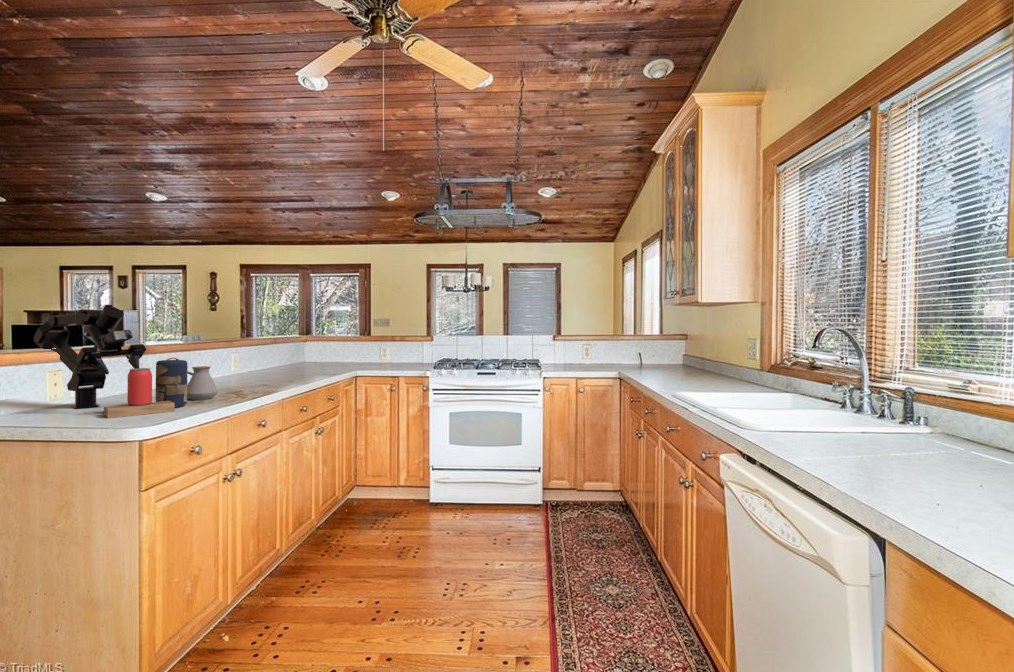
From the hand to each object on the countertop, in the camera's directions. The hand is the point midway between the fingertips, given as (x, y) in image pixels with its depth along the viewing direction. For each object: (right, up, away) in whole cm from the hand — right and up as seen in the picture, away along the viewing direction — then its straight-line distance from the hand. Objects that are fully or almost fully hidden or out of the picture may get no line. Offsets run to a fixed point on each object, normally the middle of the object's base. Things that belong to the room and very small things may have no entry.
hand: (123, 372), depth 164 cm
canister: (+9, -14, +11) cm, 20 cm away
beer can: (+7, -11, -2) cm, 13 cm away
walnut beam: (+7, -14, -2) cm, 16 cm away
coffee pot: (+2, -13, +30) cm, 33 cm away
